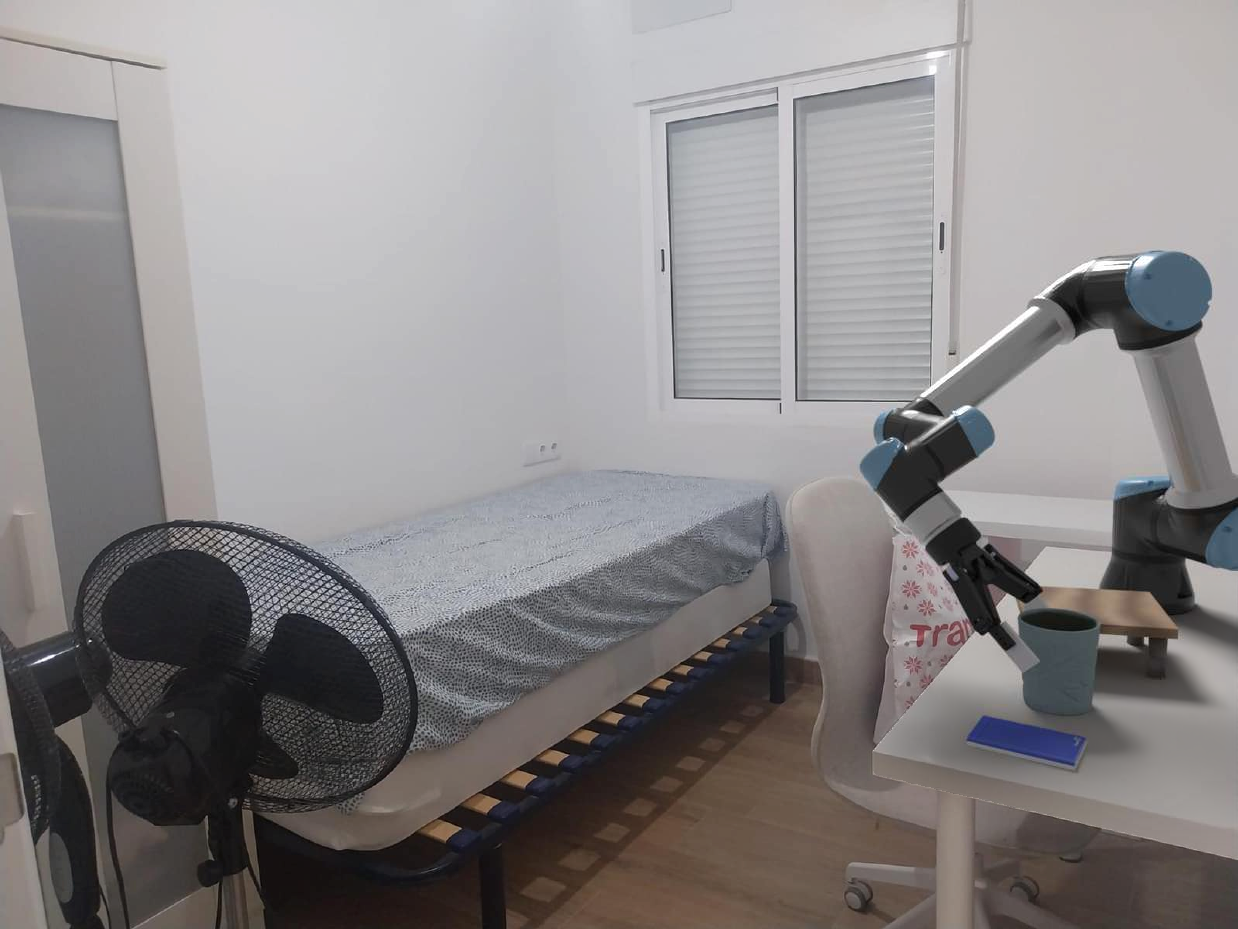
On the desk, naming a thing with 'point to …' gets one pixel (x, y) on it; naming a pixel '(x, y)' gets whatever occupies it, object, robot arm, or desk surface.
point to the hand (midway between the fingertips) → (1048, 652)
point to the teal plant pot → (1060, 659)
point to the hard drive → (1028, 742)
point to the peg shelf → (1120, 618)
